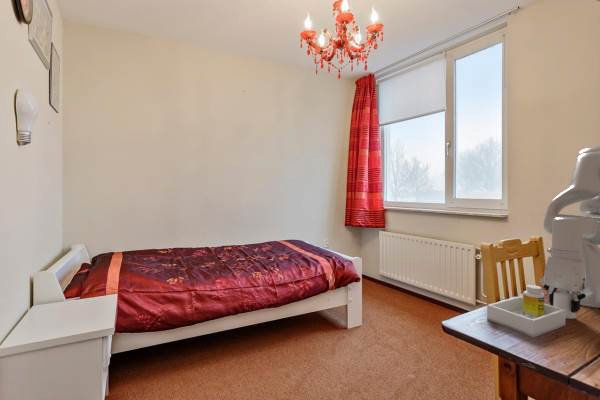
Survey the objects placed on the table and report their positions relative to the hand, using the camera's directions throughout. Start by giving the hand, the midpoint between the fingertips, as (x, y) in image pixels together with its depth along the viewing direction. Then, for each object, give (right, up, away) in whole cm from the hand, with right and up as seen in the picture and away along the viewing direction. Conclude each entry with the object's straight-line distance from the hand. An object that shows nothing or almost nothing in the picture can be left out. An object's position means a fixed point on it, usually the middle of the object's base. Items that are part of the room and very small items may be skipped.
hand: (563, 308), depth 105 cm
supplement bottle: (-12, -2, -3) cm, 13 cm away
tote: (-16, -3, -5) cm, 17 cm away
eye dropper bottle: (0, -3, 0) cm, 3 cm away
